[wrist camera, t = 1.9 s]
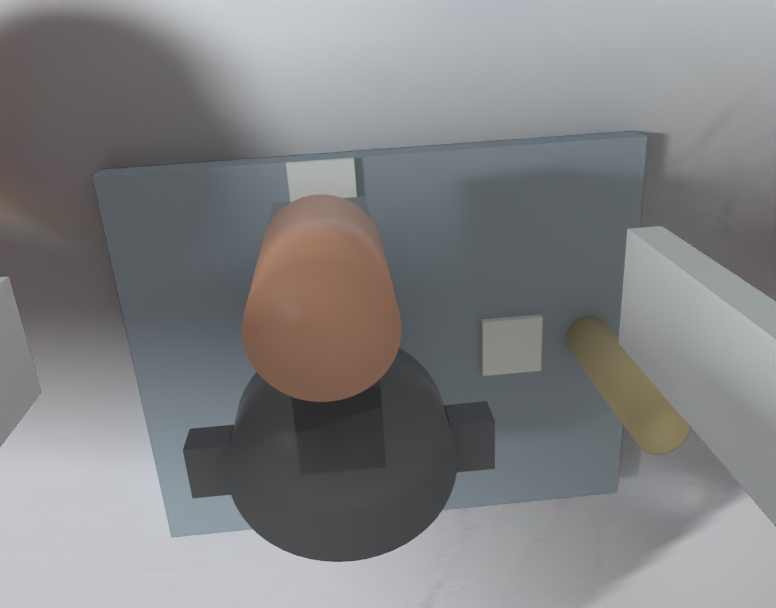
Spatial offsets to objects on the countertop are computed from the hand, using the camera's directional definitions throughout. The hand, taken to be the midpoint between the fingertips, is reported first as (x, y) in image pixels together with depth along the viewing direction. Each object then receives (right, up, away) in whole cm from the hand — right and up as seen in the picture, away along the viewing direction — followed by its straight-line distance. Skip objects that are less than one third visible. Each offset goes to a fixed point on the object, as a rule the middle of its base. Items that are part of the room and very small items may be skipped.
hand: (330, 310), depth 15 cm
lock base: (+1, -1, +14) cm, 15 cm away
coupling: (0, -2, +7) cm, 8 cm away
